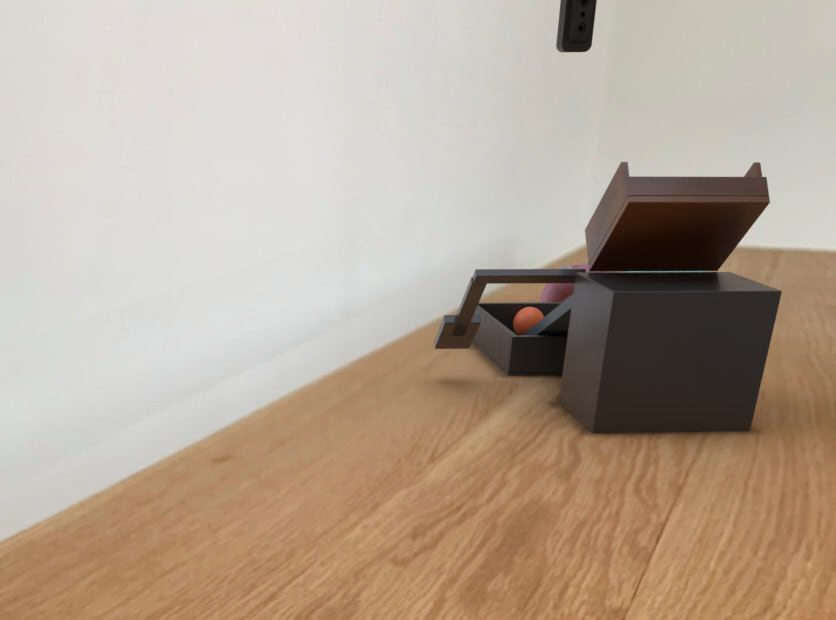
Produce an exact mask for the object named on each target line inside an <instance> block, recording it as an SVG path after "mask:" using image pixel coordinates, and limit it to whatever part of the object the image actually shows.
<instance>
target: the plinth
mask: <svg viewBox="0 0 836 620" xmlns="http://www.w3.org/2000/svg"><path fill="white" fill-rule="evenodd" d="M782 292H783V291H782V290H781V289H778V288H775V287H772V286H769V285H767V284H764V283H761V282H759V281H756V280H754V279H750V278H748V277H745V276H742V275H740V274H737V273H734V272H732V271H708V272H577V273H576V278H575V285H574V293H573V300H572V308H571V315H570V322H569V330H568V337H567V344H566V352H565V359H564V366H563V374H562V375H561V382H560V388H559V389H560V390H559V397H558V405H559V406H560V407H561V408H562V409H563V410H565V412H567V413H568V414H569V415H570V416H572V418H574V419H575V420H576V422H579V424H581V426H582V427H584V428H585V429H586V430H587V431H589V433H591V434H593V435H595V434H597V435H598V434H654V433H655V434H657V433H659V434H660V433H661V434H663V433H666V434H667V433H723V432H724V433H727V432H728V433H729V432H731V433H732V432H751V430H752V425H753V420H754V415H755V412H756V407H757V404H758V403H757V402H758V398H759V394H760V389H761V386H762V380H763V377H764V372H765V368H766V363H767V359H768V355H769V350H770V345H771V342H772V337H773V332H774V328H775V324H776V319H777V315H778V311H779V306H780V302H781V298H782Z"/></svg>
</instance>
